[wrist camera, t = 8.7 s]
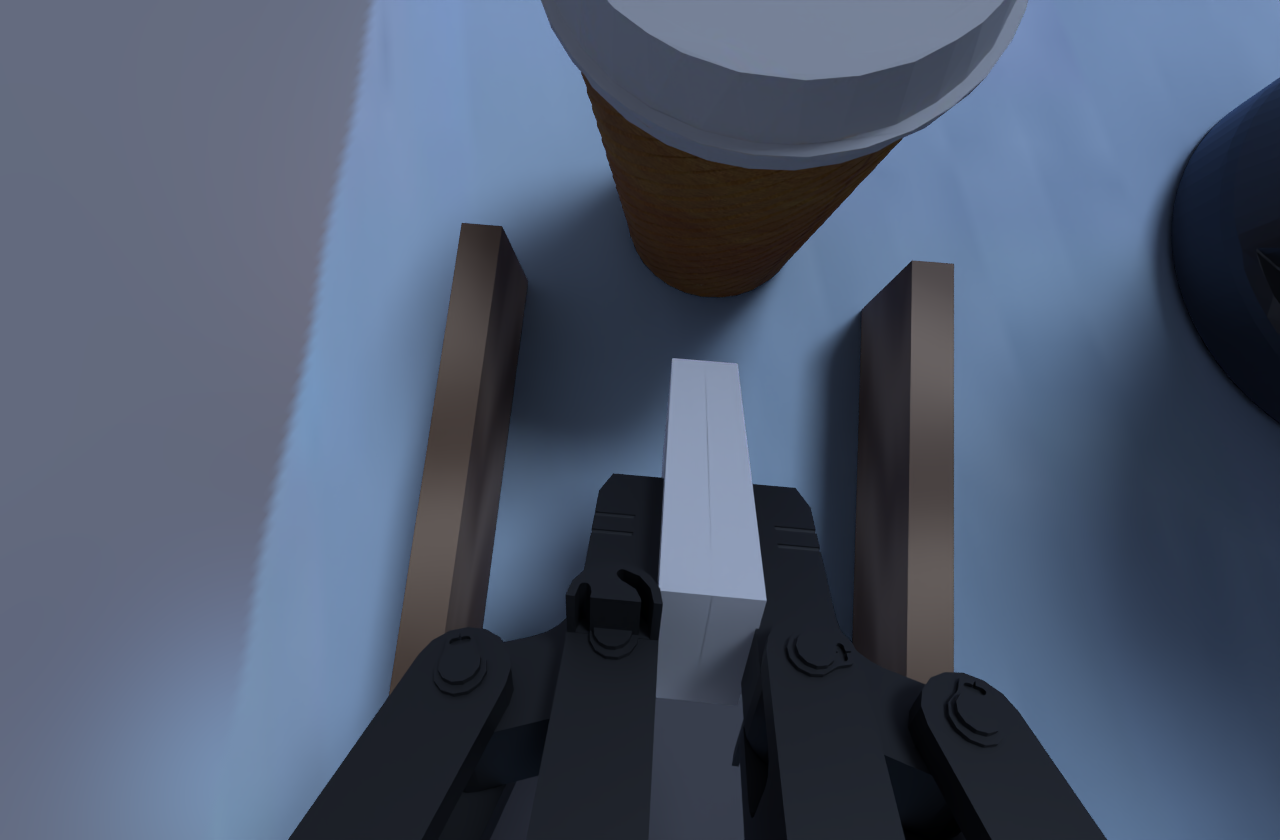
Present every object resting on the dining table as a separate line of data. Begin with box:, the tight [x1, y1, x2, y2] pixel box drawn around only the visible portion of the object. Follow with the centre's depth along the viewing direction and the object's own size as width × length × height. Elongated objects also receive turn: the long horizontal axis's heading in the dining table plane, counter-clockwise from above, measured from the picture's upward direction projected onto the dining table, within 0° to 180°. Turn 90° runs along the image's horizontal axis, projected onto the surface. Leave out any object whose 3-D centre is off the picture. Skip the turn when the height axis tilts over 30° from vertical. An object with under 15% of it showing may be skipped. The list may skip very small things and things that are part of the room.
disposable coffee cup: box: [541, 0, 1028, 297], centre depth 16 cm, size 10×10×12 cm
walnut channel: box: [389, 223, 954, 696], centre depth 17 cm, size 26×14×4 cm, turn 175°
